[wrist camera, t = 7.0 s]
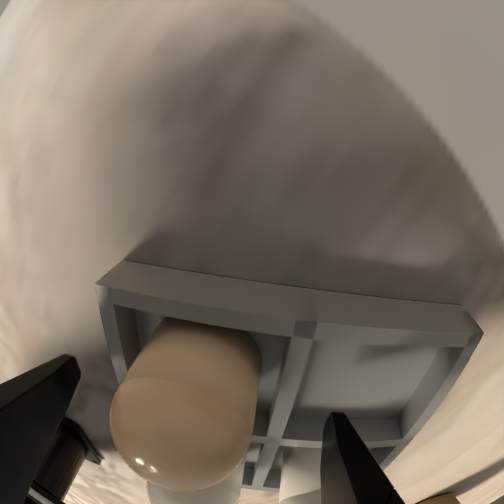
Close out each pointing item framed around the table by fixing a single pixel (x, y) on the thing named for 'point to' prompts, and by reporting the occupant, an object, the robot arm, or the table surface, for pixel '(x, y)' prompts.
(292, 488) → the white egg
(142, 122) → the table surface
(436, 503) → the squeeze bottle
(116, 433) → the brown egg
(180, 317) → the egg carton
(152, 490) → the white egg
